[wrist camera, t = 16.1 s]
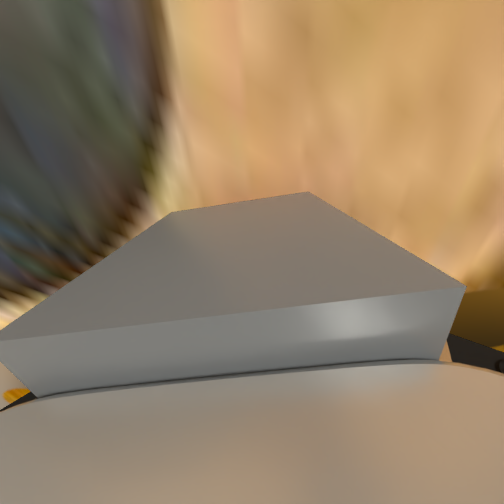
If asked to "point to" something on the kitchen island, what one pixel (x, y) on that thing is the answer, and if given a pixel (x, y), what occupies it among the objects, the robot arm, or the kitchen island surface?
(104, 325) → the gray cube
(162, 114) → the kitchen island surface
